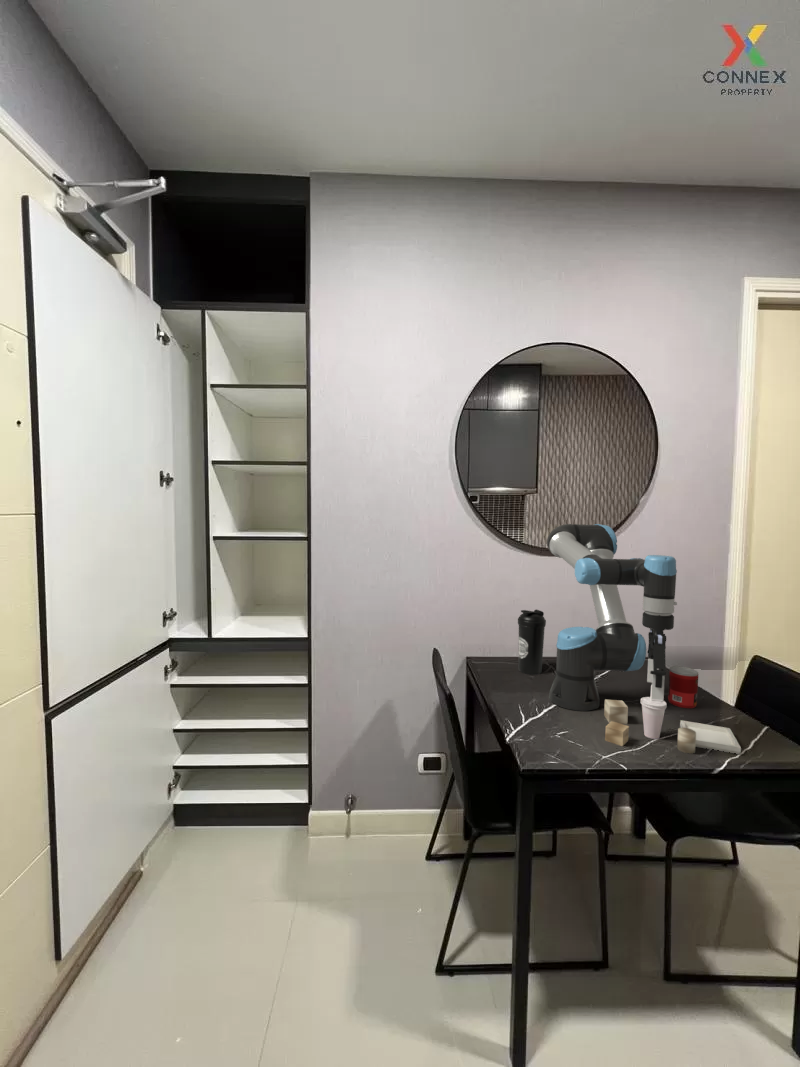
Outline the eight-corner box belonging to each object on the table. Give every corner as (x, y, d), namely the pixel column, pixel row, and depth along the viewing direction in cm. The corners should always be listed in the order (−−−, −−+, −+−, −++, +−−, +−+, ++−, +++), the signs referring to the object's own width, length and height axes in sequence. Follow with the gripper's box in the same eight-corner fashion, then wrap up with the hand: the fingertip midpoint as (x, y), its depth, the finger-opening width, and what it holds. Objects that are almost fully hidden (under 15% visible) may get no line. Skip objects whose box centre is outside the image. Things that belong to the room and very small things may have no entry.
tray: (686, 744, 129) (686, 738, 129) (679, 726, 140) (680, 720, 140) (740, 754, 125) (740, 747, 125) (729, 734, 136) (729, 728, 136)
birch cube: (609, 723, 142) (609, 706, 142) (604, 715, 147) (604, 699, 147) (627, 724, 141) (627, 707, 141) (621, 716, 146) (622, 700, 146)
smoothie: (642, 728, 139) (644, 679, 138) (667, 735, 135) (670, 685, 134) (636, 736, 134) (638, 686, 133) (662, 743, 130) (665, 692, 129)
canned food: (700, 709, 152) (702, 675, 152) (672, 707, 154) (674, 672, 153) (691, 700, 160) (693, 667, 159) (664, 698, 161) (666, 665, 161)
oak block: (604, 740, 131) (605, 726, 131) (611, 735, 134) (611, 721, 134) (622, 746, 128) (623, 731, 128) (628, 740, 131) (628, 726, 131)
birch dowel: (678, 751, 126) (679, 732, 125) (676, 744, 129) (677, 726, 129) (696, 755, 124) (697, 735, 124) (693, 748, 128) (694, 729, 128)
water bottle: (511, 667, 189) (513, 608, 188) (534, 665, 192) (536, 607, 191) (525, 676, 179) (527, 614, 178) (549, 674, 182) (551, 612, 181)
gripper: (680, 623, 119) (676, 709, 120) (668, 606, 142) (665, 678, 143) (646, 620, 122) (642, 704, 123) (639, 603, 145) (636, 674, 146)
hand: (654, 690), depth 133 cm, fingers open, 13 cm apart
